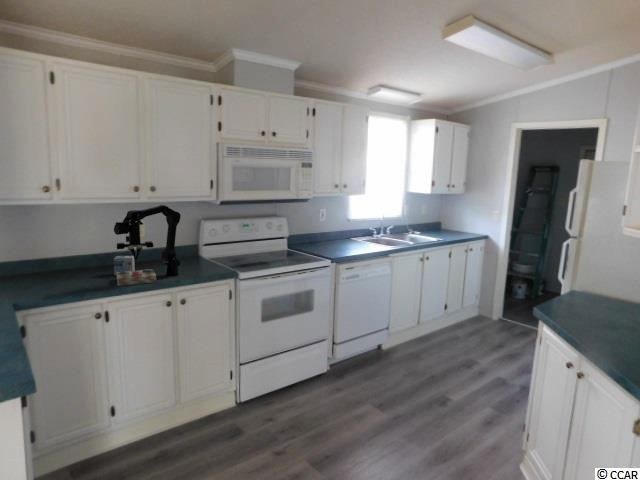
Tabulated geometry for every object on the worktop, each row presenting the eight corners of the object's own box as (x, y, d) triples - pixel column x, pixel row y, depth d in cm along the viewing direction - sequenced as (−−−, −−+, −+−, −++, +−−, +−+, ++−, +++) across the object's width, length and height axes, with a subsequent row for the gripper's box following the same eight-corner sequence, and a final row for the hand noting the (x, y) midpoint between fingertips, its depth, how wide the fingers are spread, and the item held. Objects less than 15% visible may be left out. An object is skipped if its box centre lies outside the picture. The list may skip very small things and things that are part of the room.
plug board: (153, 275, 247) (152, 269, 247) (156, 282, 233) (156, 275, 233) (116, 279, 238) (116, 272, 237) (117, 285, 224) (117, 278, 223)
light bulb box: (114, 275, 246) (113, 258, 244) (116, 272, 252) (115, 255, 250) (133, 274, 249) (132, 257, 247) (135, 272, 255) (134, 255, 253)
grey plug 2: (149, 276, 244) (149, 268, 244) (150, 277, 241) (150, 270, 240) (142, 276, 242) (142, 269, 242) (143, 278, 239) (143, 270, 238)
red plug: (140, 278, 234) (139, 271, 234) (140, 280, 231) (140, 272, 230) (132, 279, 233) (132, 271, 232) (133, 281, 229) (132, 273, 228)
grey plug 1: (128, 277, 239) (127, 270, 238) (128, 279, 235) (128, 271, 235) (120, 278, 237) (120, 271, 236) (120, 280, 233) (120, 272, 233)
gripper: (150, 230, 239) (151, 256, 241) (115, 231, 230) (116, 258, 232) (153, 233, 229) (154, 259, 232) (116, 234, 220) (117, 262, 223)
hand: (135, 260), depth 230 cm, fingers closed
